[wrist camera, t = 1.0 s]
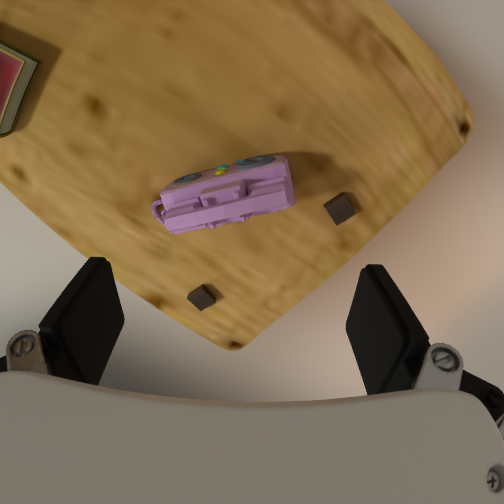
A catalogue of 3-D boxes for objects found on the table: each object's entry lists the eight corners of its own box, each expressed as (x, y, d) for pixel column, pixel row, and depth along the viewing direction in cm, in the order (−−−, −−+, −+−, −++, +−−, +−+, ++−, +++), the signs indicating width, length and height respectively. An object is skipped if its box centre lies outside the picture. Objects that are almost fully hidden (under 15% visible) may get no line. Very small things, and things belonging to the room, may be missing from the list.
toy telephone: (282, 147, 33) (295, 164, 24) (292, 197, 36) (307, 230, 27) (143, 184, 34) (110, 213, 26) (159, 228, 37) (135, 268, 29)
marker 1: (188, 293, 42) (186, 298, 41) (202, 283, 42) (201, 288, 41) (201, 306, 44) (200, 311, 43) (216, 297, 43) (215, 302, 42)
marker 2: (323, 204, 36) (325, 207, 35) (342, 191, 35) (345, 194, 34) (334, 222, 37) (336, 225, 36) (353, 210, 36) (356, 213, 35)
